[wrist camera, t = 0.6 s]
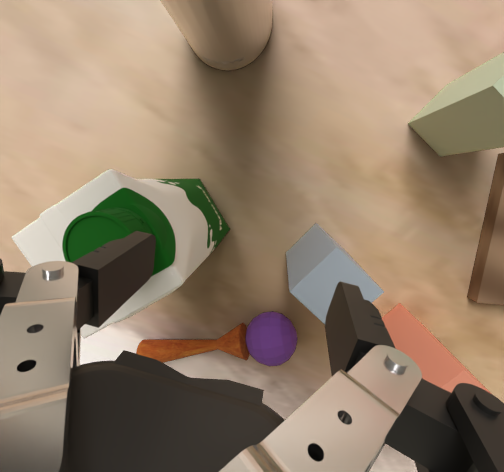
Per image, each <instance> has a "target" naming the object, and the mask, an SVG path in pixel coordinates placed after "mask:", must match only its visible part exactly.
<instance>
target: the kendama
mask: <svg viewBox="0 0 504 472" xmlns="http://www.w3.org/2000/svg"><path fill="white" fill-rule="evenodd" d="M296 344H297V333H296V330H295V328H294V326H293V324H292V323H291V321H290V320H289V319H288V318H287V317H285V316H284V315H283V314H280V313H277V312H273V311H272V312H265V313H262V314H260V315H258V316H257V317H255V318H253V320H252V321H251V323H250V324H249V325H248V327H246V325H245V324H244V323H242V324H240V325H239V326H237V327H236V328H234V329H233V330H231V331H230V332H228V333H227V334H225V335H224V336H222V337H221V338H219V339H218V340H142V341H141V342H140V343H139V345H138V348H137V353H136V354H139V355H142V356H146V357H149V358H153V359H156V360H158V361H160V362H162V363H163V362H167V361H171V360H176V359H180V358H184V357H188V356H192V355H196V354H200V353H204V352H208V351H212V350H216V349H219V350H221V351H224V352H226V353H229V354H232V355H234V356H237V357H239V358H242V359H244V360H247V359H248V358H249V354H250V355H251V356H252V357H253V358H254V359H255V360H256V361H257V362H259V363H262V364H264V365H267V366H277V365H281V364H282V363H284V362H286V361H287V360H289V358H290V357H291V356H292V354H293V353H294V351H295V349H296Z"/></svg>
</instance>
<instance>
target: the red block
mask: <svg viewBox="0 0 504 472" xmlns="http://www.w3.org/2000/svg"><path fill="white" fill-rule="evenodd" d="M382 320H383V322H384V324H385V327H386V328H387V330H388V333H389V335H390V337H391V339H392V341H393V343H394V346H395V348H396V349H397V350H400V351H401V352H403V353H405V354H406V355H407V356H409V357H410V358H411V359H412V360H413V361H414V362H415V363H416V364H417V365H418V367H419V368H420V370H421V373H422V378H423V379H424V380H426V381H428V382H430V383H432V384H434V385H436V386H438V387H440V388H442V389H444V390H446V391H449V392H451V393H452V391H453V389H454V388H455V386H456V385H457V384H459V383H468V384H472V385H475V386H477V387H480V388H482V389H484V390H485V391H487V392H489V391H488V390H487V389H486V388H485V387H484V386H483V385H482V384H481V383H480V382H479V381H478V380H477V379H476V378H475V377H474V376H473V375H472V374H471V373H470V372H469V371H468V370H467V369H466V368H465V367H464V366H463V365H462V364H461V363H460V362H459V361H458V360H457V359H456V358H455V357H454V356H453V355H452V354H451V353H450V352H449V351H448V350H447V349H446V348H445V347H444V346H443V345H442V344H441V343H440V342H439V341H438V340H437V339H436V338H435V337H434V336H433V335H432V334H431V333H430V332H429V331H428V330H427V329H426V328H425V327H424V326H423V325H422V324H421V323H420V322H419V321H418V320H417V319H416V318H415V317H414V316H413V315H412V314H411V313H410V312H409V311H408V310H406V309H405V308H404V307H403V306H402V305H401V304H400V303H399V304H398V305H397V306H396V307H394V308H393V309H392V310H391V311H390V312H388V313H387V314H386V315H385V316H384V317H382ZM489 393H490V392H489ZM490 394H491V393H490Z"/></svg>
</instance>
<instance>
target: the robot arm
mask: <svg viewBox="0 0 504 472" xmlns="http://www.w3.org/2000/svg"><path fill="white" fill-rule="evenodd" d="M160 1H161V2H162V4H163V5H164V7H165V8H166V10H167V11H168V13H169V14H170V16H171V17H172V19H173V20H174V22H175V23H176V25H177V26H178V28H179V29H180V31H181V32H182V34H183V35H184V37H185V38H186V40H187V41H188V43H189V44H190V46H191V48H192V49H193V51H194V52H195V54H196V55H197V56H198V57H199V58H200V59H201V60H202V61H203V62H205V63H206V64H208V65H209V66H211V67H214V68H216V69H220V70H236V69H239V68H242V67H245V66H246V65H248V64H249V63H251V62H253V61H254V60H255V59H256V58H257V57H258V56H259V55H260V54H261V52H262V51H263V49H264V48H265V46H266V44H267V42H268V40H269V37H270V34H271V29H272V19H273V13H272V0H160ZM155 245H156V238H155V236H154V235H152V234H148V233H144V232H140V231H135V232H133V233H132V234H130V235H128V236H126V237H125V238H121V239H117V240H113V241H110V242H108V243H106V244H104V245H102V246H101V247H99V248H97V249H95V250H94V251H92V252H90V253H88V254H86V255H84V256H82V257H81V258H79V259H77V260H75V261H73V262H72V263H71V262H66V261H50V262H44V263H40V264H37V265H35V266H33V267H31V268H30V269H28V270H27V272H26V273H20V272H4V271H3V264H2V260H1V259H0V472H369V470H370V469H371V467H372V465H373V464H374V462H375V460H376V459H377V457H378V455H379V453H380V452H381V450H382V448H383V447H384V445H385V443H386V444H387V445H389V446H391V447H392V448H394V449H396V450H397V451H399V452H401V453H402V454H404V455H406V456H407V457H409V458H411V459H412V460H414V461H415V464H416V467H417V470H418V472H504V403H503V402H501V401H500V400H499V399H498V398H496V397H495V396H493V395H492V394H490V393H489V392H487V391H485V390H484V389H482V388H480V387H477V386H475V385H472V384H468V383H459V384H457V385H456V386H455V388H454V389H453V391H452V393H451V392H449V391H446V390H444V389H442V388H440V387H438V386H436V385H434V384H432V383H430V382H428V381H426V380H424V379H423V378H422V373H421V370H420V368H419V367H418V365H417V364H416V363H415V362H414V361H413V360H412V359H411V358H410V357H409V356H407V355H406V354H405V353H403V352H401V351H400V350H397V349H396V348H395V346H394V343H393V341H392V339H391V337H390V335H389V333H388V330H387V328H386V327H385V324H384V322H383V320H382V317H381V315H380V313H379V311H378V309H377V308H376V307H375V306H374V305H373V304H372V303H371V302H370V301H368V300H364V298H363V296H362V293H361V291H360V288H359V286H356V285H352V284H348V283H344V282H339V283H338V284H337V286H336V289H335V292H334V295H333V297H332V300H331V303H330V306H329V309H328V312H327V315H326V320H325V330H326V338H327V345H328V352H329V359H330V366H331V373H332V377H331V378H330V379H329V380H328V381H327V382H326V383H325V384H324V385H323V386H321V387H320V388H319V389H318V390H317V391H316V392H315V393H314V394H313V395H312V396H311V397H310V398H308V399H307V400H306V401H305V402H304V403H303V404H302V405H301V406H300V407H299V408H298V409H297V410H295V411H294V412H293V413H292V414H291V415H290V416H289V417H288V418H287V419H286V420H284V419H283V418H282V417H281V416H279V415H278V414H277V413H276V412H275V411H273V410H272V409H271V408H269V407H268V406H266V405H265V404H263V403H262V398H263V391H264V390H261V389H258V388H254V387H251V386H247V385H244V384H240V383H237V382H233V381H230V380H218V379H200V378H189V377H186V376H184V375H183V374H181V373H179V372H177V371H176V370H174V369H172V368H171V367H169V366H167V365H165V364H164V363H162V362H160V361H158V360H156V359H153V358H149V357H146V356H142V355H139V354H135V353H132V352H128V351H125V350H124V351H123V352H122V353H121V354H120V356H119V357H118V358H117V359H116V360H115V361H99V362H92V363H88V364H83V365H80V343H81V327H82V326H83V325H85V324H87V325H90V326H94V327H97V328H99V327H100V326H101V325H102V324H103V323H104V322H105V321H106V320H107V319H109V318H110V317H111V316H112V315H113V314H114V313H115V312H116V311H117V310H118V309H119V308H120V307H121V306H122V305H123V304H124V303H125V302H126V301H127V300H128V299H130V298H131V297H132V296H133V295H134V294H135V293H136V292H137V291H138V290H139V289H140V288H141V287H142V286H143V285H144V284H145V283H146V282H147V281H148V280H149V279H150V277H151V275H152V273H153V269H154V258H155Z"/></svg>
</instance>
